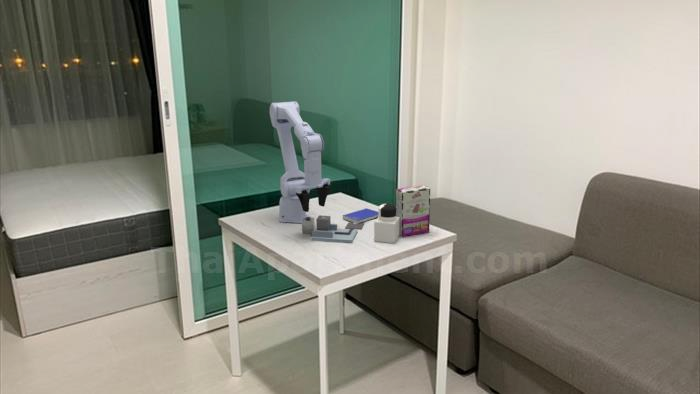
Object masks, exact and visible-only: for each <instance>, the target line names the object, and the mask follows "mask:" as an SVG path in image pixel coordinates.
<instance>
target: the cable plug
mask: <svg viewBox="0 0 700 394" xmlns="http://www.w3.org/2000/svg"><path fill="white" fill-rule="evenodd" d="M312 230H316V229H315V217H311V216H309V217H305V218H304V219H303V220H302V223H301V232H302V235H311V236H312Z"/></svg>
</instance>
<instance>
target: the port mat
mask: <svg viewBox="0 0 700 394" xmlns="http://www.w3.org/2000/svg"><path fill="white" fill-rule="evenodd" d="M364 226H365V222H361V223H354V222H351V221H349V222H348V223H347V224H346V225H345V228H344V229H350V228H354V230H360V231H361V230H363V227H364Z"/></svg>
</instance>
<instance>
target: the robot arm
mask: <svg viewBox="0 0 700 394" xmlns="http://www.w3.org/2000/svg"><path fill="white" fill-rule="evenodd" d="M300 113H301V108H300V104H299V103H298V102H297V101H295V100H294V101H283V102H282V101H281V102H271V104H270V105H269V117H270V121H271V125H272V127H273V128H274V129H276V132H277V135H278V140H279V145H280V146H279V147H280V151H281V155H282V159H283V165H284V170H285V173H283V175H281V177H280V179H279V182H280V184H279V185H280V193H281V195H282V196H281V197H280V199H279V204H278V205H279V207H278V208H279V222H280V223H290V224H291V223H293V224H295V223H296V224H302V220H303V219H304V218H305V217H310V215H309V214H307V213H309V210H310V199H311V195H312V193H310V191H312V190H313V189H316V192H317V199H318V206H320V207H325V205H326V201H327V198H328V194H329V192H330V191H331V187H332V186H330V185H331V178H328V177H326V178H322V152H323V151H324V149H325V141H324V137H323V136H322V134H320V133H316V132H315V131H314V130H313V128H312V127H311V126H310V124H309V123H308V122H307V121H303V119H302V117H301V115H300ZM292 127H293V132H294V134H295V136H296V137H297V139H298V140H299V141H300V149H301V154H302V158H303V163H304V164H303V166H304V169H303V170H304V172H303V171H301V170H300V169H299V163H298V159H297V154H296V150H295V146H294V140H293V136H292V130H291V129H292Z"/></svg>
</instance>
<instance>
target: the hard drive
mask: <svg viewBox="0 0 700 394" xmlns="http://www.w3.org/2000/svg"><path fill="white" fill-rule="evenodd" d="M377 218H378V210H373V209H370V208H363V209H360V210H355V211H352V212H350V213H346V214H343V215H342V219H343V220H345V221H349V222H352V223H365V222H366V221H369V220H373V219H377Z"/></svg>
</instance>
